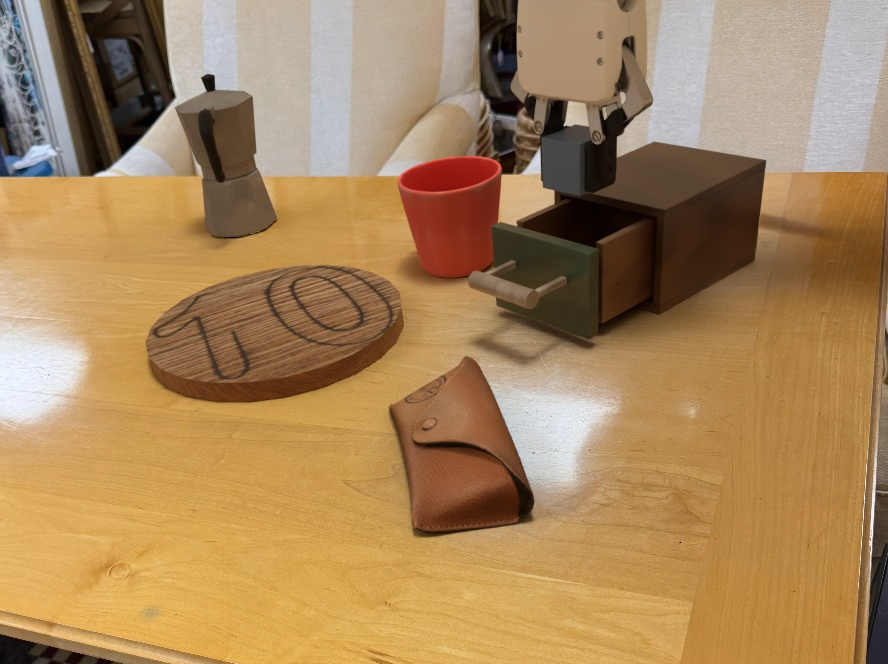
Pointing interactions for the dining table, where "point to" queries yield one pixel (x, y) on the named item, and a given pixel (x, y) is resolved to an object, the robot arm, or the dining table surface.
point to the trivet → (275, 333)
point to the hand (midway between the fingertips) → (577, 180)
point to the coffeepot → (227, 160)
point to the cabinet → (689, 213)
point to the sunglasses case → (460, 455)
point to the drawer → (572, 264)
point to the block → (565, 160)
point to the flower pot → (452, 212)
